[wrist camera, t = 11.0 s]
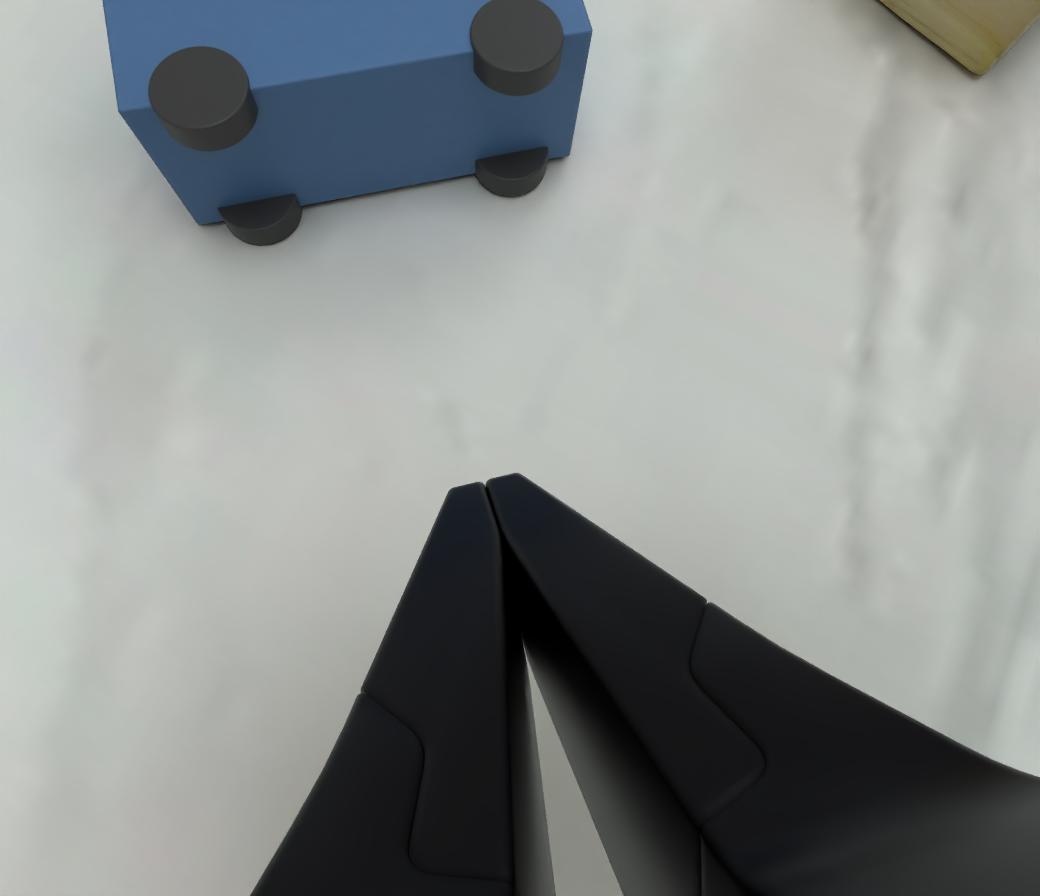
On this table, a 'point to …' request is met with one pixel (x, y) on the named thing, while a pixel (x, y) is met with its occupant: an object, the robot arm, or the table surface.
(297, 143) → the toy van
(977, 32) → the toy sofa
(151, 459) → the table surface
